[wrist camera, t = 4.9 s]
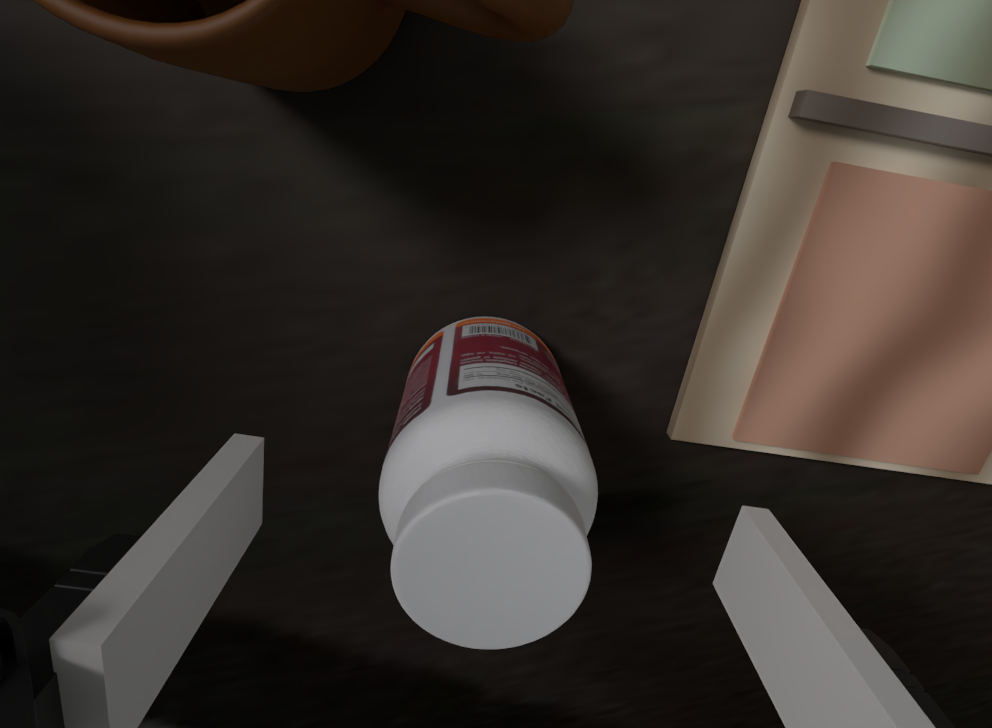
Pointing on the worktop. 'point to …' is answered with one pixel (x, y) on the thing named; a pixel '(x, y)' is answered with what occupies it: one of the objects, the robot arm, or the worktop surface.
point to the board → (860, 251)
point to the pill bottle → (488, 489)
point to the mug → (292, 32)
